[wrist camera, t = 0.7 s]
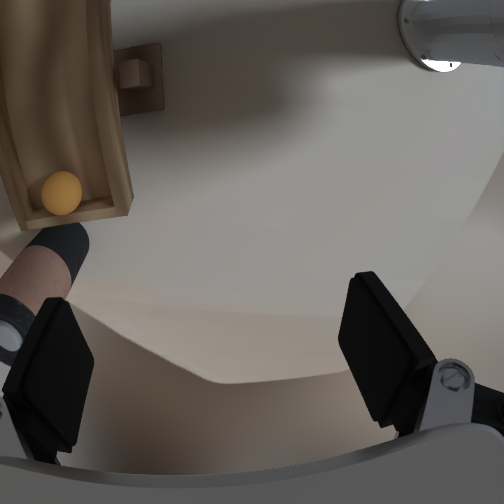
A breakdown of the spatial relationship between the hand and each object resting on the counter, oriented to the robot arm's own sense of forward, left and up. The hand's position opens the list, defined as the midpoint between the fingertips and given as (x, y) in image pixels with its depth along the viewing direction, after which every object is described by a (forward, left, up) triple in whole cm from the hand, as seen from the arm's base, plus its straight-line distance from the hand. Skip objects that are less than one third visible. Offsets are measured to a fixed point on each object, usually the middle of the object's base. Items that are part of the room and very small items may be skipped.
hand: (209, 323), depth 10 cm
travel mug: (+20, +10, -30) cm, 37 cm away
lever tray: (+9, -10, -23) cm, 27 cm away
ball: (+13, 0, -18) cm, 22 cm away
